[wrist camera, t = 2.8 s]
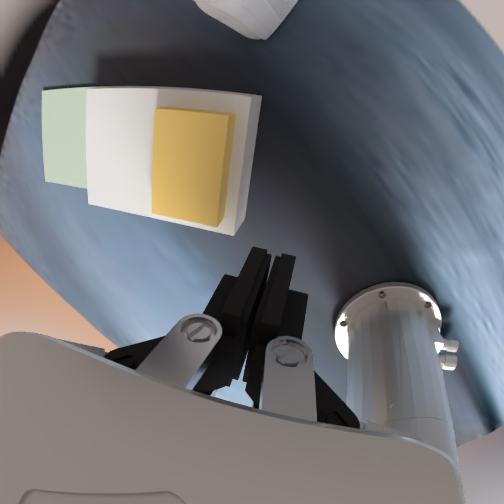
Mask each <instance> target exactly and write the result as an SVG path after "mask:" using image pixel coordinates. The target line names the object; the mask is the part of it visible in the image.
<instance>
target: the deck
mask: <svg viewBox="0 0 504 504" xmlns="http://www.w3.org/2000/svg"><path fill="white" fill-rule="evenodd" d="M261 100H262V96H261V95H253V94H246V93H238V92H229V91H219V90H209V89H196V88H181V87H160V86H108V87H99V88H91V89H87V92H86V170H87V188H88V202H89V204H91V205H96V206H101V207H105V208H110V209H115V210H119V211H124V212H128V213H133V214H138V215H142V216H147V217H151V218H156V219H160V220H165V221H169V222H174V223H178V224H183V225H187V226H192V227H196V228H201V229H205V230H210V231H214V232H219V233H223V234H228V235H232V236H234V235H235V233H236V231H237V230H238V228H239V227H240V225H241V224H242V222H243V221H244V219H245V214H246V207H247V199H248V192H249V185H250V177H251V170H252V163H253V156H254V149H255V142H256V135H257V127H258V120H259V113H260V106H261ZM166 106H168V107H181V108H192V109H202V110H211V111H220V112H228V113H235V114H236V120H235V128H234V137H233V145H232V153H231V162H230V170H229V179H228V188H227V198H226V207H225V216H224V219H223V220H222V222H221V223H220V224H219V225H218V227H212V226H208V225H203V224H199V223H194V222H190V221H185V220H181V219H176V218H171V217H167V216H162V215H157V214H153V213H152V157H153V134H154V117H155V109H156V108H161V107H166Z"/></svg>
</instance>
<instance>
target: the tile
mask: <svg viewBox="0 0 504 504" xmlns="http://www.w3.org/2000/svg"><path fill="white" fill-rule="evenodd" d="M235 120H236V114H235V113H228V112H220V111H211V110H202V109H192V108H181V107H168V106H166V107H161V108H156V109H155V117H154V134H153V157H152V213H153V214H157V215H162V216H167V217H171V218H176V219H181V220H185V221H190V222H194V223H199V224H203V225H208V226H212V227H218V225H219V224H220V223H221V222H222V220H223V219H224V216H225V207H226V198H227V188H228V179H229V170H230V162H231V153H232V145H233V137H234V128H235Z"/></svg>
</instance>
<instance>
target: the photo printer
mask: <svg viewBox="0 0 504 504" xmlns="http://www.w3.org/2000/svg"><path fill="white" fill-rule="evenodd" d="M193 1H195V2H196V4H197V5H198V7H199V8H200V9H201V10H202V11H204V12H205V13H206V14H208V15H210V16H212V17H213V18H215V19H217V20H219V21H220V22H222V23H224V24H225V25H227V26H229V27H230V28H232V29H234V30H235V31H237V32H239V33H240V34H242V35H244V36H245V37H247V38H250V39H263V40H266V39H267V38H268V37H269V36H270V35H272V33H273V32H274V31H275V30H276V29H277V28H278V26H279V25H280V24H281V23H282V21H283V20H284V19H285V17H286V16H287V15H288V13H289V12H290V11H291V9H292V8H293V7H294V6H295V4H296V3H297V2H298V0H193Z"/></svg>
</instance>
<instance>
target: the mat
mask: <svg viewBox="0 0 504 504" xmlns="http://www.w3.org/2000/svg"><path fill="white" fill-rule="evenodd" d="M99 87H108V86H99ZM99 87H78V88H64V89H53V90H43V91H42V140H43V158H44V171H45V181H47V182H52V183H58V184H64V185H70V186H75V187H81V188H86V189H88V188H87V170H86V92H87V89H91V88H99Z"/></svg>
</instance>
